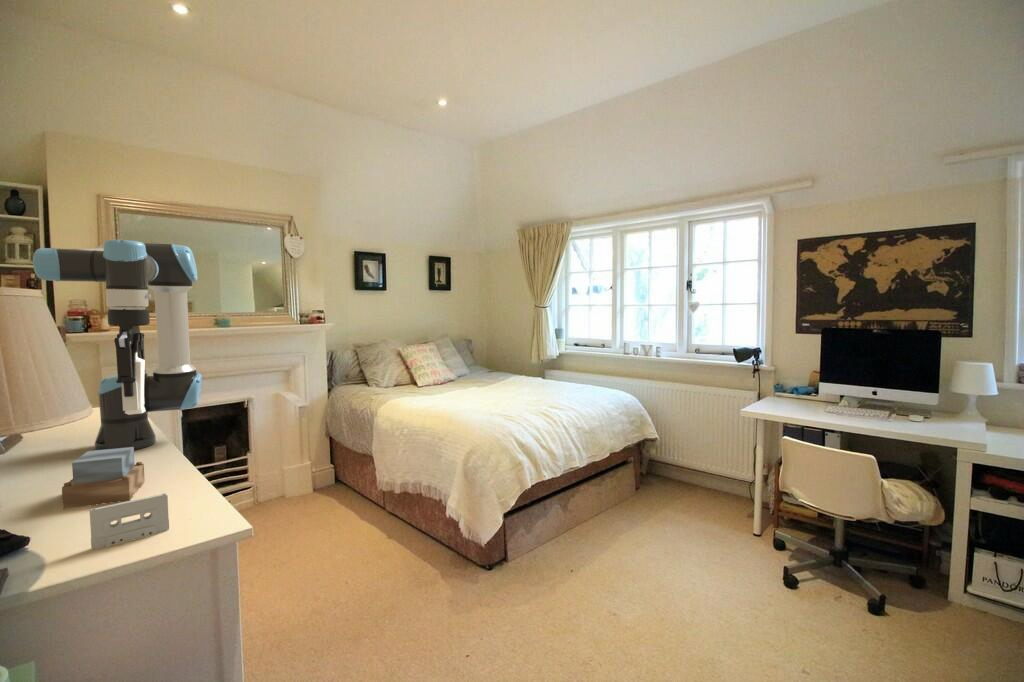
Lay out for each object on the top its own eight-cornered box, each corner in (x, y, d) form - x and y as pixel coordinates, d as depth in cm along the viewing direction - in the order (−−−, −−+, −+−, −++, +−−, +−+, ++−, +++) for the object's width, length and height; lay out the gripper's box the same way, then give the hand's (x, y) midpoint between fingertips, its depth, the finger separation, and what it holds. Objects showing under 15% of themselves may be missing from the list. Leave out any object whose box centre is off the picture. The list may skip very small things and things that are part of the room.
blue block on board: (84, 489, 116) (82, 450, 115) (144, 482, 121) (142, 444, 120) (63, 509, 105) (60, 465, 105) (129, 500, 110) (127, 458, 110)
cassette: (168, 527, 98) (166, 492, 97) (169, 531, 96) (168, 494, 96) (91, 547, 90) (89, 508, 89) (91, 551, 88) (89, 511, 88)
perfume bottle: (126, 410, 112) (123, 348, 110) (149, 409, 114) (145, 348, 112) (119, 415, 108) (115, 350, 106) (142, 414, 109) (138, 350, 108)
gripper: (138, 309, 102) (144, 414, 104) (157, 307, 118) (162, 398, 120) (93, 309, 99) (100, 418, 101) (119, 306, 114) (125, 400, 117)
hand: (134, 407), depth 110 cm, fingers closed on perfume bottle, 5 cm apart
